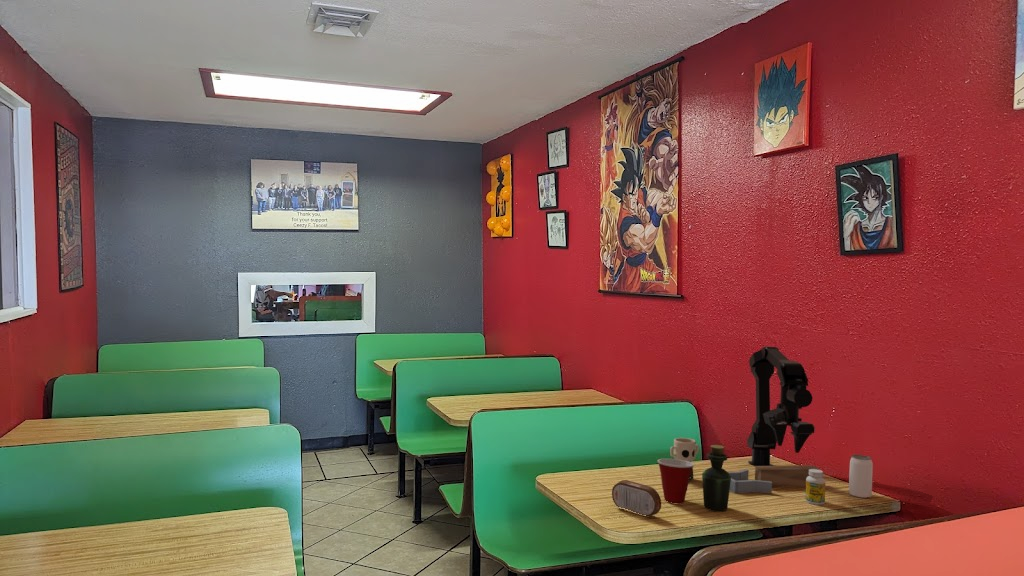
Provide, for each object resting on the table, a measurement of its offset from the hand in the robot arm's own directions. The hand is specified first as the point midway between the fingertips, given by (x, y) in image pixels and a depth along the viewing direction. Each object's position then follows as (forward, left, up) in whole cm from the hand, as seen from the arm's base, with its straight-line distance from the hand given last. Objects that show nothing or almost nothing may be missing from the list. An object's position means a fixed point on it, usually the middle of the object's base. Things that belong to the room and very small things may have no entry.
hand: (788, 449), depth 230 cm
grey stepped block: (0, -16, -12) cm, 20 cm away
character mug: (-11, -31, -12) cm, 35 cm away
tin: (+17, -60, -12) cm, 63 cm away
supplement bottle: (+17, -2, -12) cm, 21 cm away
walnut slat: (0, 0, -12) cm, 12 cm away
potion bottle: (+17, -35, -12) cm, 41 cm away
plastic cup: (+9, -44, -12) cm, 46 cm away
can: (+13, +17, -12) cm, 24 cm away
